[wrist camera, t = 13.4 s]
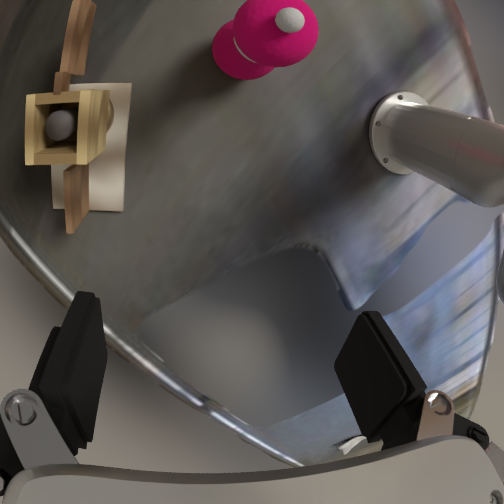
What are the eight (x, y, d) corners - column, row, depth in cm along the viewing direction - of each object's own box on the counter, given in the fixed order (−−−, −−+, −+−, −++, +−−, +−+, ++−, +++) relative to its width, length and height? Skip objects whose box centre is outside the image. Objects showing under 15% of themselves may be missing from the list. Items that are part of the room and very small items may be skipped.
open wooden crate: (68, 10, 21) (43, -4, 15) (124, 6, 22) (109, -13, 16) (52, 149, 28) (25, 165, 22) (105, 149, 30) (86, 164, 24)
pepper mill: (220, 88, 33) (253, 85, 16) (201, 35, 29) (216, -22, 12) (277, 72, 33) (361, 62, 16) (260, 19, 29) (330, -36, 12)
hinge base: (56, 85, 28) (17, 87, 19) (132, 83, 31) (112, 81, 22) (55, 206, 35) (23, 241, 27) (123, 209, 38) (106, 246, 29)
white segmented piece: (334, 441, 86) (338, 450, 83) (420, 394, 83) (425, 402, 81) (340, 448, 91) (344, 455, 88) (421, 404, 88) (425, 411, 85)
